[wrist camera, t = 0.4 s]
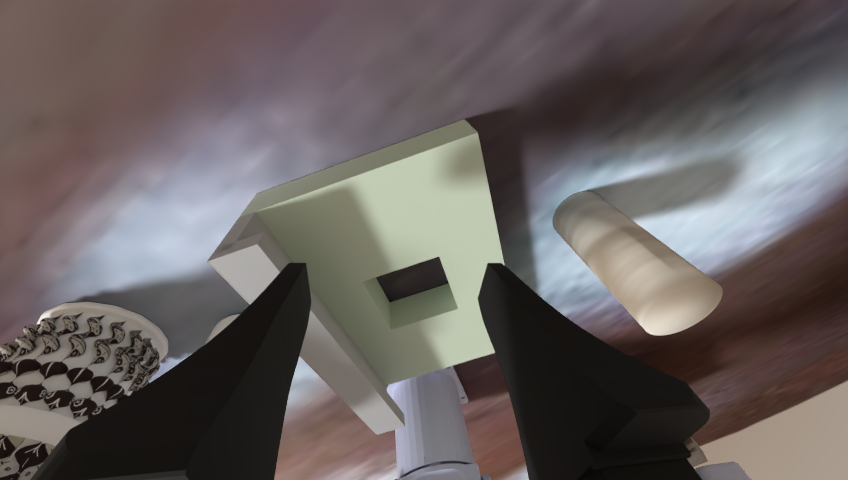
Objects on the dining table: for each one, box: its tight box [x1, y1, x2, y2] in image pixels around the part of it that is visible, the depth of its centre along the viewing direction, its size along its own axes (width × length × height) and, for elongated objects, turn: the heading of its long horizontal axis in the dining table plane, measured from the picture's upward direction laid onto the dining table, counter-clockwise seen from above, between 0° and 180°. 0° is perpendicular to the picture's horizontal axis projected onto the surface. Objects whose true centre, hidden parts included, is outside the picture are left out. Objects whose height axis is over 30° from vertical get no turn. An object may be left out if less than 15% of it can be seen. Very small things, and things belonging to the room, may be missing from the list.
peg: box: [553, 191, 723, 335], centre depth 20 cm, size 4×4×10 cm
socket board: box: [207, 119, 505, 435], centre depth 22 cm, size 20×14×7 cm
